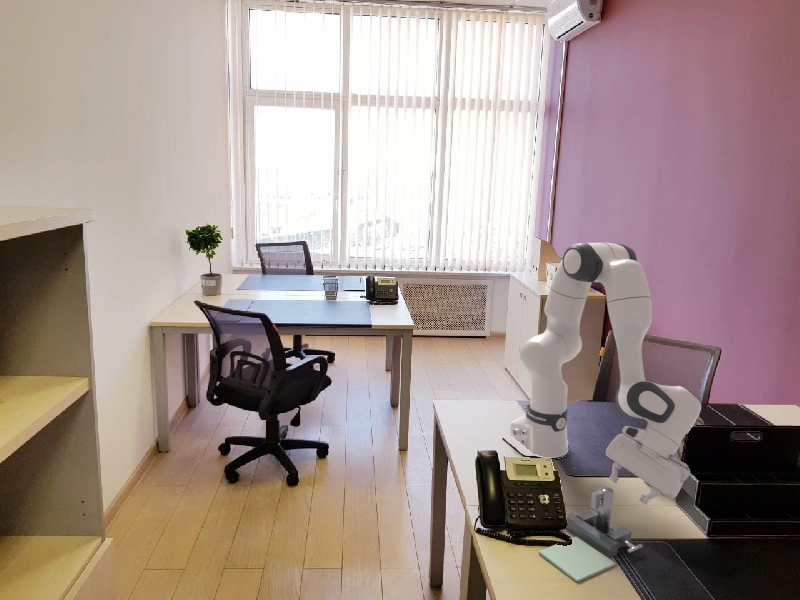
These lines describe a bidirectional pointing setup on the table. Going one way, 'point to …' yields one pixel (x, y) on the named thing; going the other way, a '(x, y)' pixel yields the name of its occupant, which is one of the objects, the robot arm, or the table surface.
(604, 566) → the mat
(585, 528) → the vise
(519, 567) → the table surface
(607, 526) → the grey tall rounded piece
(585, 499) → the table surface
